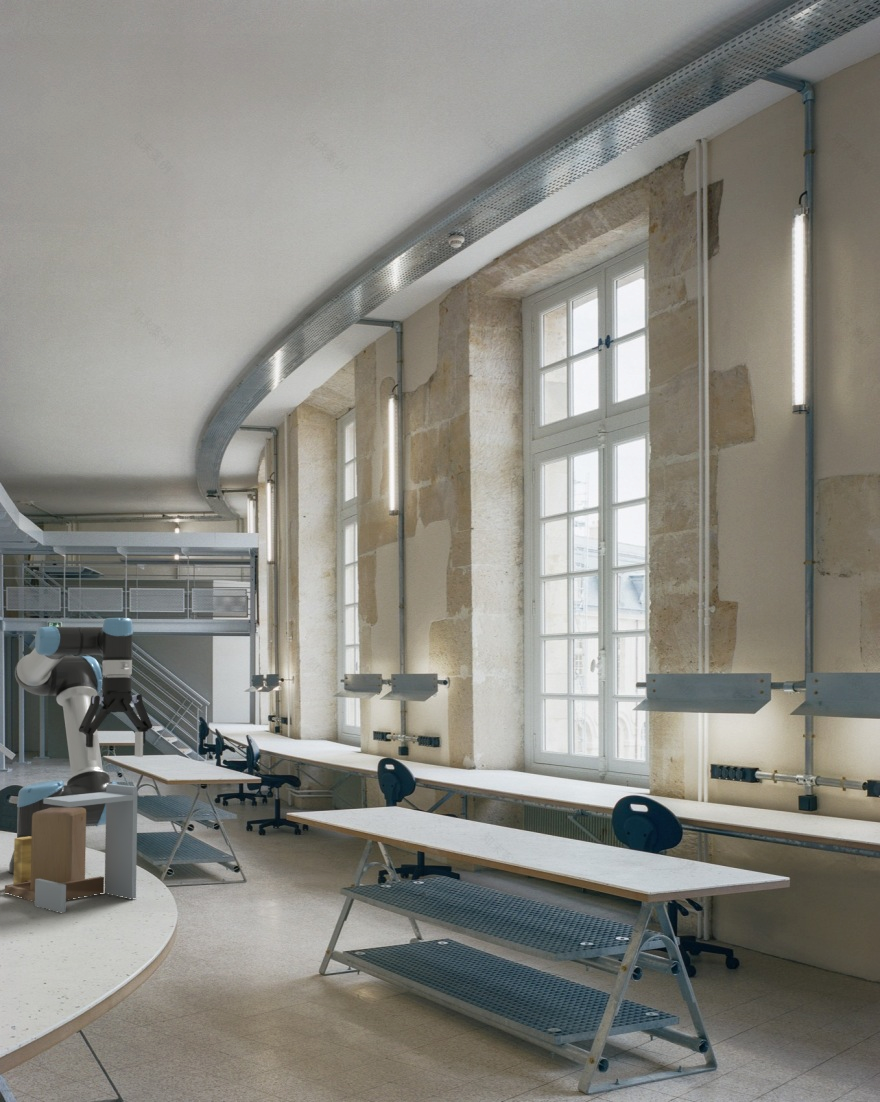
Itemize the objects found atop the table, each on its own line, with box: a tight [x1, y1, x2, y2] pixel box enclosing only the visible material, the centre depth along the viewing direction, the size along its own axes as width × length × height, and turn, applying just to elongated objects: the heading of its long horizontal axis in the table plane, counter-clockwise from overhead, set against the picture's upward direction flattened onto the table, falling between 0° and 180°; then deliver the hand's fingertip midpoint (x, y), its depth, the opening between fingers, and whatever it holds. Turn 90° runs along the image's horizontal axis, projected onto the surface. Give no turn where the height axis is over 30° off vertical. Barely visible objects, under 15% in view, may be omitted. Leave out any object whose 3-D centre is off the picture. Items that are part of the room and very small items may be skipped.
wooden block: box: [30, 807, 87, 891], centre depth 267 cm, size 10×10×20 cm
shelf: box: [34, 783, 138, 913], centre depth 258 cm, size 12×19×26 cm, turn 138°
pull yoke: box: [4, 836, 105, 902], centre depth 270 cm, size 26×15×12 cm, turn 48°
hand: (115, 758), depth 289 cm, fingers open, 13 cm apart
